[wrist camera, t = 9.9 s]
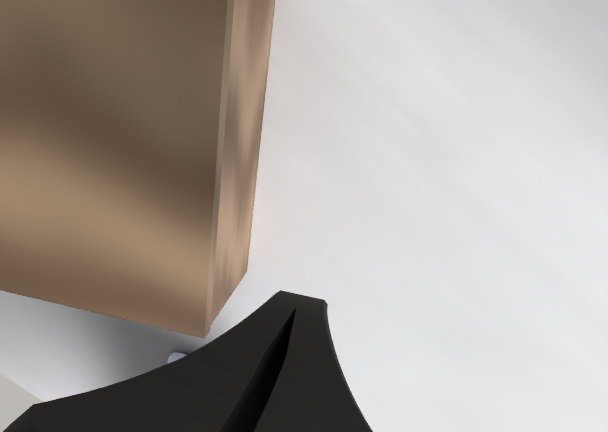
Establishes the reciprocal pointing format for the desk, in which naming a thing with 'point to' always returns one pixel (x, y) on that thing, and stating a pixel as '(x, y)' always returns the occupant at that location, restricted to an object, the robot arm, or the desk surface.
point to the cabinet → (131, 153)
